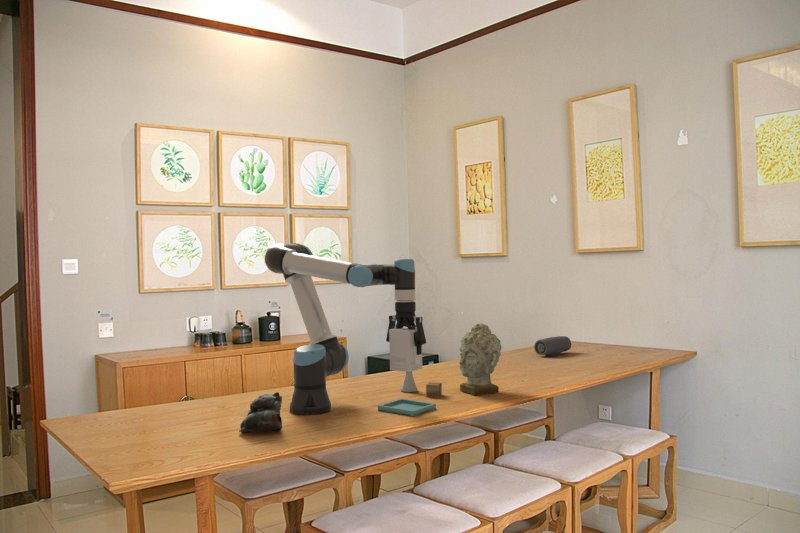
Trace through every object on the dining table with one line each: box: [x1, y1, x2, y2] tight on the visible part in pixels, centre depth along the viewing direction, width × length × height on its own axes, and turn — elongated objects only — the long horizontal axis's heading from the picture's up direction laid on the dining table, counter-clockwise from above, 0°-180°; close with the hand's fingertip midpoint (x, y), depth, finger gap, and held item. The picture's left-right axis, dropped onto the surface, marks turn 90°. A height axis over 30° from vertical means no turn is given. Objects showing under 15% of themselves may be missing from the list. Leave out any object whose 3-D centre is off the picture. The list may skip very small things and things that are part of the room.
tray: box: [377, 398, 437, 417], centre depth 237 cm, size 14×16×2 cm
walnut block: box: [425, 381, 443, 399], centre depth 260 cm, size 5×5×5 cm
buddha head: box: [459, 323, 502, 397], centre depth 266 cm, size 17×19×28 cm
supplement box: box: [388, 326, 423, 373], centre depth 237 cm, size 9×9×15 cm
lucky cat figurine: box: [238, 391, 283, 434], centre depth 212 cm, size 15×12×14 cm
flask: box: [400, 371, 418, 393], centre depth 270 cm, size 7×7×10 cm
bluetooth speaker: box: [534, 335, 572, 357], centre depth 359 cm, size 23×9×10 cm, turn 130°
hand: (406, 362), depth 237 cm, fingers closed on supplement box, 9 cm apart
